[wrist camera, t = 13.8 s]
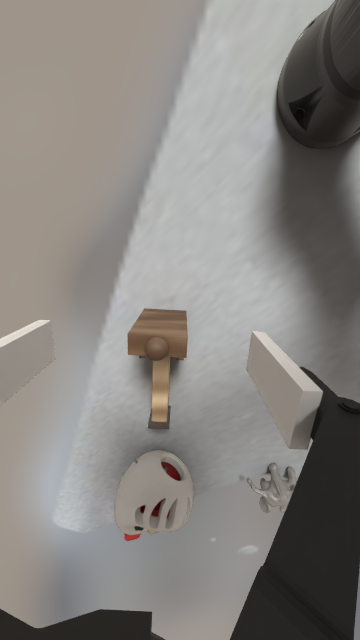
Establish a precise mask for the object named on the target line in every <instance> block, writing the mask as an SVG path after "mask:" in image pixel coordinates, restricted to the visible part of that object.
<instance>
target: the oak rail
mask: <svg viewBox="0 0 360 640" xmlns="http://www.w3.org/2000/svg"><path fill="white" fill-rule="evenodd" d="M169 379H170V357H165V358H164V359H162V360H160V361H153V381H152V409H151V414H150V419H149V424H148V428H155V429H169V420H170V406H168V400H169Z"/></svg>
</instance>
